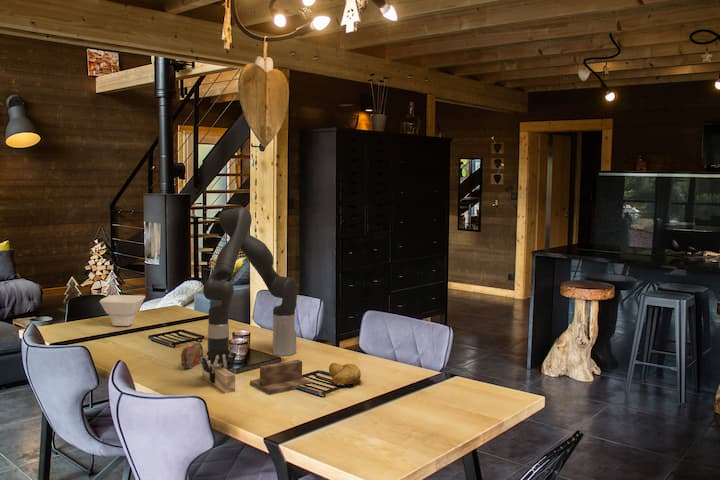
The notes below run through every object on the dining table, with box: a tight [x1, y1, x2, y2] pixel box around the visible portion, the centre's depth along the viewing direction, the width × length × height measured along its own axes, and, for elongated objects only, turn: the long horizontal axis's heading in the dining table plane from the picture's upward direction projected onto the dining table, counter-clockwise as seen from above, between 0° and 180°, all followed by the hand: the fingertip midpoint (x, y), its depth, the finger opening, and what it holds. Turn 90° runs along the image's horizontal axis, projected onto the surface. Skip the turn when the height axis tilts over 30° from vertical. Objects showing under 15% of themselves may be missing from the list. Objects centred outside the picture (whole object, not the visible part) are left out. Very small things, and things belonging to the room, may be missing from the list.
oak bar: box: [201, 360, 236, 394], centre depth 241 cm, size 4×22×6 cm, turn 35°
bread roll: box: [328, 362, 362, 385], centre depth 245 cm, size 13×10×8 cm
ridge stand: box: [249, 359, 313, 395], centre depth 241 cm, size 18×14×8 cm
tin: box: [180, 342, 204, 369], centre depth 264 cm, size 15×3×8 cm, turn 168°
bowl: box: [99, 294, 146, 327], centre depth 332 cm, size 19×19×14 cm
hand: (218, 381), depth 241 cm, fingers closed on oak bar, 3 cm apart
